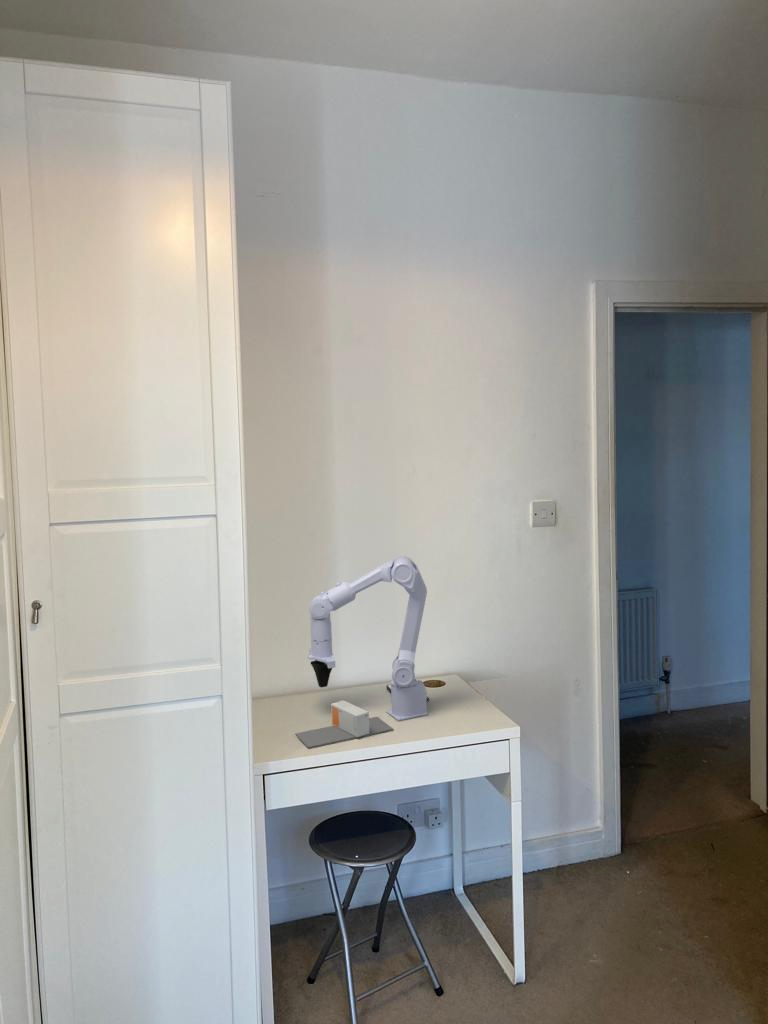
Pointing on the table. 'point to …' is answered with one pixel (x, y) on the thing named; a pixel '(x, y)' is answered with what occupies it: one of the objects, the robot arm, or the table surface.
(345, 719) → the skincare box
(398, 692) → the robot arm
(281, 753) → the table surface
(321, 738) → the mat
